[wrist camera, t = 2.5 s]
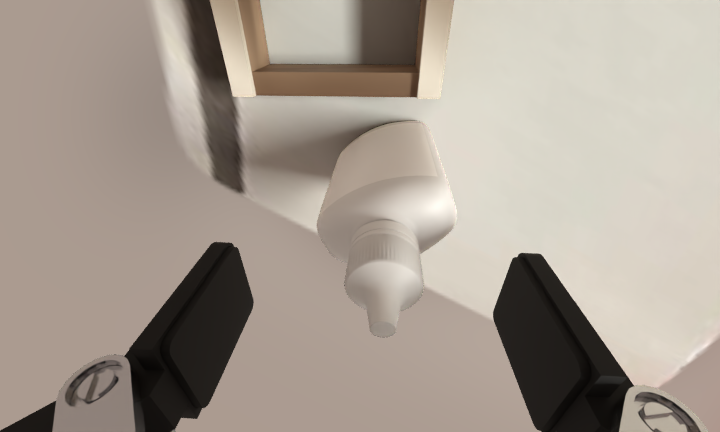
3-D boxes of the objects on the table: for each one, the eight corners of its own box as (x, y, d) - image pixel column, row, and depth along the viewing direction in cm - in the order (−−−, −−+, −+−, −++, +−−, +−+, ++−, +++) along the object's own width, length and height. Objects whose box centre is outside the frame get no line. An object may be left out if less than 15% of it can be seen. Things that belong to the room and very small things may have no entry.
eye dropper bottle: (341, 110, 16) (270, 255, 7) (441, 122, 16) (522, 287, 6) (337, 179, 19) (282, 360, 9) (424, 189, 19) (464, 383, 9)
